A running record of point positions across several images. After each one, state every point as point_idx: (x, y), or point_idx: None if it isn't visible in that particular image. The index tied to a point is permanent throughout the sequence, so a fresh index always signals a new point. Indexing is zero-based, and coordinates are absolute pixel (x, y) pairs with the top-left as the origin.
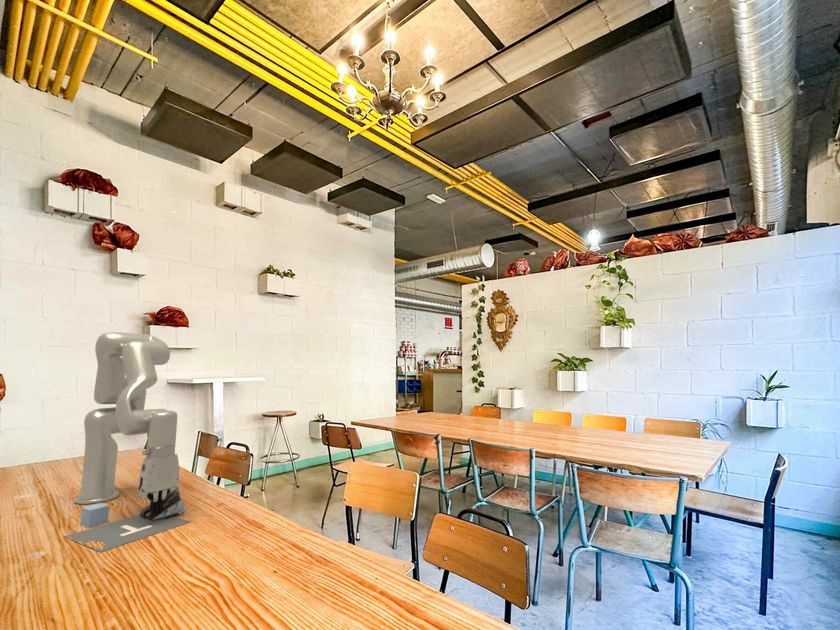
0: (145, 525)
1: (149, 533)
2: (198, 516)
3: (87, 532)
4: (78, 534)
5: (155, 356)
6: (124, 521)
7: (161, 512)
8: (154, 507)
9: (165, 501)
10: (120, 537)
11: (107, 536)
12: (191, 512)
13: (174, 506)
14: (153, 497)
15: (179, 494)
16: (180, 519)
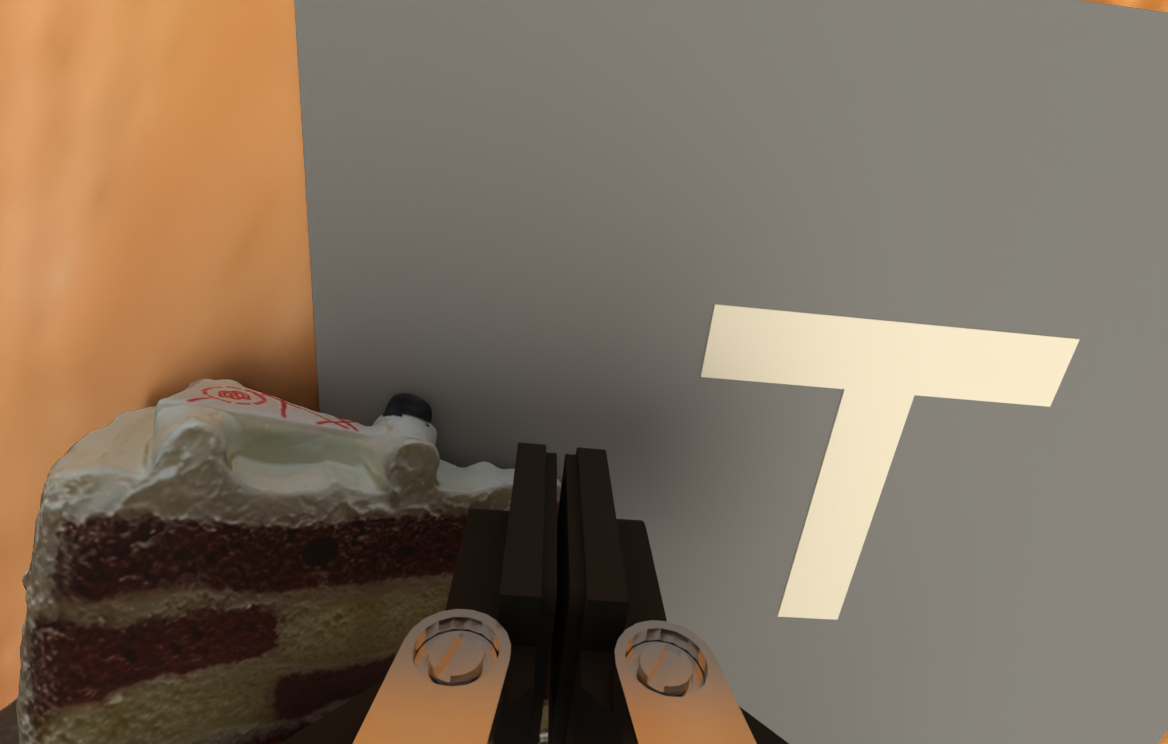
0: (718, 421)
1: (942, 77)
2: (61, 28)
3: (1025, 720)
4: (1078, 736)
5: None
6: None
7: (522, 447)
8: (626, 562)
9: (283, 707)
10: (1120, 319)
11: (1104, 479)
12: (59, 324)
13: (257, 474)
14: (751, 734)
15: None
16: (341, 181)
